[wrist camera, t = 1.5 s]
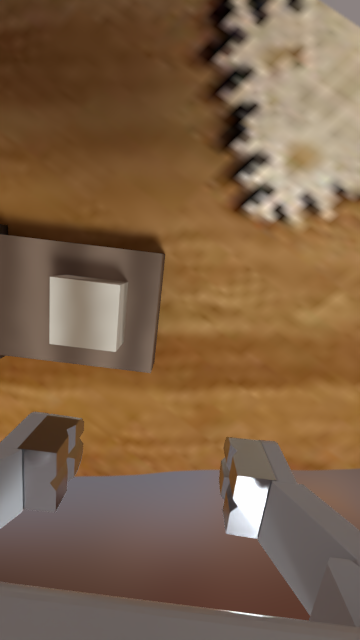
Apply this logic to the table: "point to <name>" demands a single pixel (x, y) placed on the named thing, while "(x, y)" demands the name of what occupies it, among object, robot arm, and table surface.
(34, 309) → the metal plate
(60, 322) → the block
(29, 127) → the table surface
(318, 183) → the table surface
